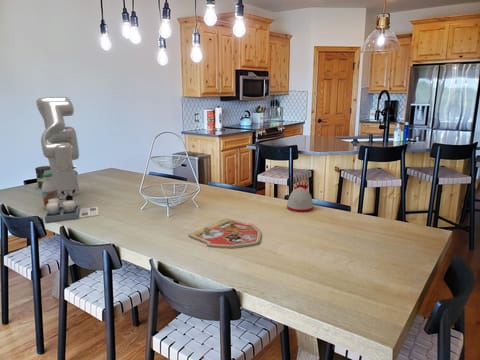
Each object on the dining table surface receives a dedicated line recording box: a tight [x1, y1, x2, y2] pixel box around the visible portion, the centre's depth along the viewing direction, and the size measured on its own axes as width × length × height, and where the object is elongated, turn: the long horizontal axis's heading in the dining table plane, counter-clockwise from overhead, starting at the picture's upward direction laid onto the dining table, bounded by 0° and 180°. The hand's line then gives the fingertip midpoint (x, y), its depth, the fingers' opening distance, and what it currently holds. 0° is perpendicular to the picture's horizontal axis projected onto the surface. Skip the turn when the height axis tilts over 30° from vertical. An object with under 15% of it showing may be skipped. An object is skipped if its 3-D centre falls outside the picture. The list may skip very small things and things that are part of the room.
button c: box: [46, 202, 59, 214], centre depth 179 cm, size 5×5×5 cm
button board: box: [44, 204, 80, 224], centre depth 184 cm, size 15×15×3 cm
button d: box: [62, 199, 75, 212], centre depth 181 cm, size 5×5×5 cm
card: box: [78, 206, 99, 219], centre depth 189 cm, size 14×9×1 cm, turn 22°
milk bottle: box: [41, 173, 61, 211], centre depth 195 cm, size 8×8×20 cm
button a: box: [48, 198, 61, 208], centre depth 185 cm, size 5×5×5 cm
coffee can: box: [34, 165, 51, 191], centre depth 239 cm, size 10×10×14 cm
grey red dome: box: [286, 181, 314, 213], centre depth 190 cm, size 14×14×15 cm
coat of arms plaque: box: [187, 217, 262, 249], centre depth 157 cm, size 29×30×4 cm
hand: (69, 202), depth 188 cm, fingers closed
